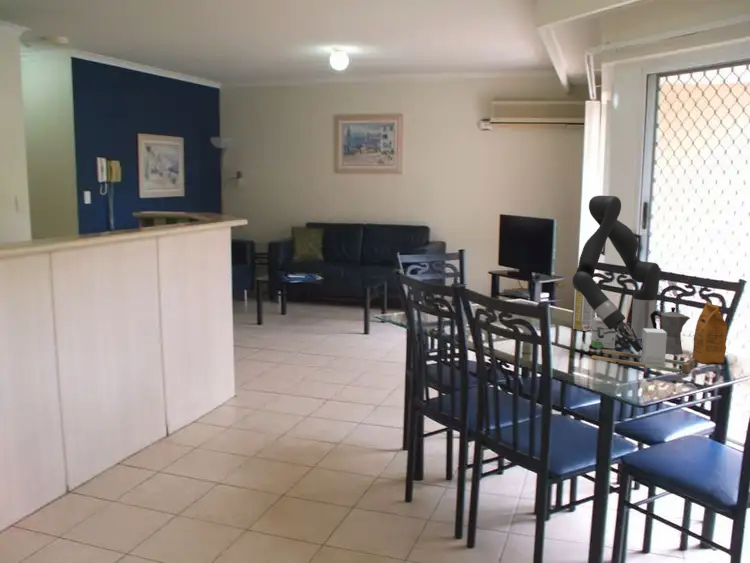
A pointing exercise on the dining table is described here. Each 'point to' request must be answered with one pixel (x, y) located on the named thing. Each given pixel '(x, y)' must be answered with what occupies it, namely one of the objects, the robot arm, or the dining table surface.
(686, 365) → the beam slot
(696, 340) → the coffee package
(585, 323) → the juice carton
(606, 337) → the ink box
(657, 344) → the supplement box
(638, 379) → the dining table surface
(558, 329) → the dining table surface
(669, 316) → the coffeepot
